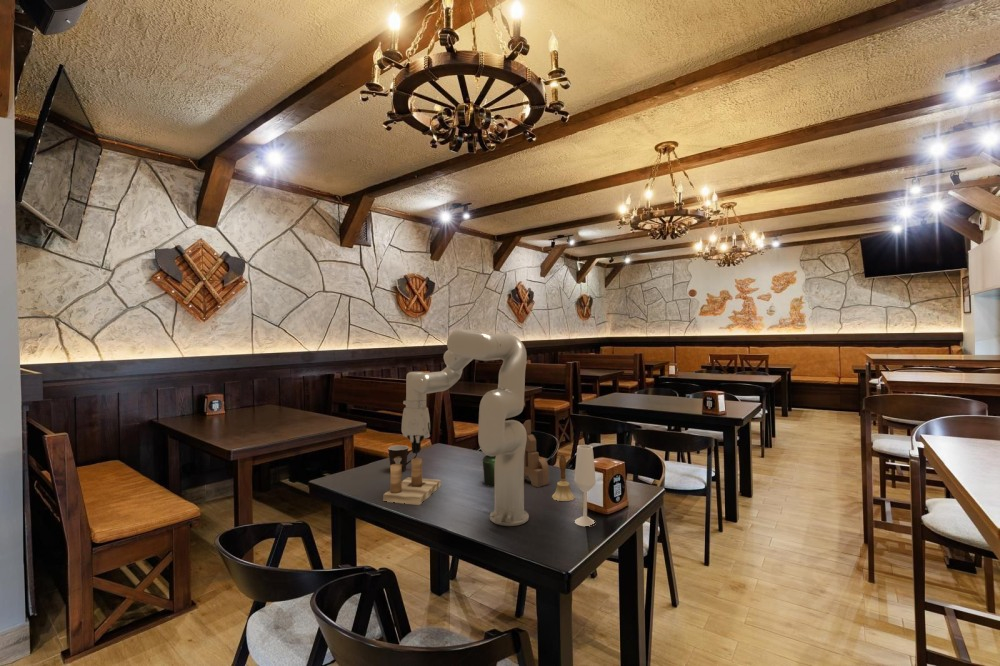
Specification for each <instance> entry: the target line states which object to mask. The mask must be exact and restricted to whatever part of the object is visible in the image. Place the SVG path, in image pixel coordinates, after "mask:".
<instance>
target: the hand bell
mask: <svg viewBox="0 0 1000 666" xmlns="http://www.w3.org/2000/svg"><path fill="white" fill-rule="evenodd" d="M558 464H559V469H560V481H557V484H556V489H555V492H554V493H553V494H552V495H551V498H553V500H554V501H556V500H557V501H556V502H559V501H570V500H573V499H574V498H576V497H575V495H574V494H573V493H572V491H571V485H570V482H568V481H566V480H567V479H566V468H567V458H566V456H565V454H564V453H561V454H560V457H559V461H558ZM574 500H575V499H574ZM574 500H573V501H574ZM570 502H571V501H570Z"/></svg>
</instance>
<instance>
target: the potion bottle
mask: <svg viewBox="0 0 1000 666" xmlns="http://www.w3.org/2000/svg"><path fill="white" fill-rule="evenodd" d="M495 458H496V456H488V455H486V454H485V456H483V458H482V468H483V480H484V485H485V486H487V485H489V486H488V487H495Z"/></svg>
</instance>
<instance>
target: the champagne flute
mask: <svg viewBox="0 0 1000 666" xmlns="http://www.w3.org/2000/svg"><path fill="white" fill-rule="evenodd" d="M593 448H594V447H593V446H592V445H589V444H578V445H577V447H576V449H577V450H576V458H575V469H574V484H575V486H576V487H577V488H578V489H579V490H580V491H581V492H582V516H580V517H578V518H576V519H575V520H574V521H575V522H574V524H576V525H578V526H581V527H585V526H589V527H591V526H590V525H592V524H594V523H595V522H596V521H595V520H594V519H592V518H590V517H589V516H588V492H589V491H591V490H592V489H593V488H594V486H595V485H596V483H597V482H596V481H597V480H596V479H597V478H596V468H595V459H594V450H593ZM594 521H595V522H594Z"/></svg>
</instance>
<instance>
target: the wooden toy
mask: <svg viewBox="0 0 1000 666" xmlns="http://www.w3.org/2000/svg"><path fill="white" fill-rule="evenodd" d="M522 425H523V426H524V427H525V430H526V434H527V441H526V447H525V454H524V481H525V479H526V480H527V477H528V478H529V480H530V483H531V486H533V487H536V488H541V487H543V486H546V485H549V482H550V469H549V468H550V467H549V463H548V461H547V460H546V459H545V457H544V458H543V457H542V458H540V455H539V452H538V451H537V439H536V436H535V435H534V434H533V433H532V421H531V419H527V420H525V421H524V422H523V423H522Z"/></svg>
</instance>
